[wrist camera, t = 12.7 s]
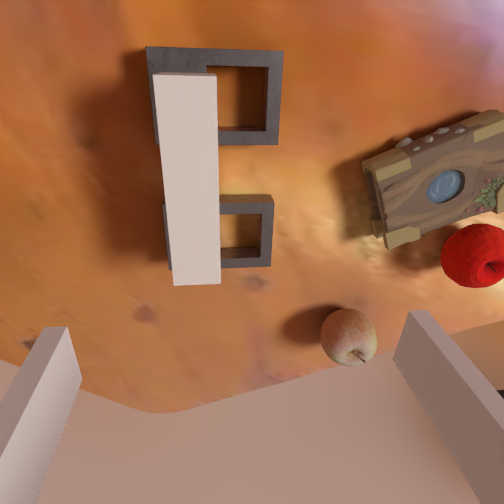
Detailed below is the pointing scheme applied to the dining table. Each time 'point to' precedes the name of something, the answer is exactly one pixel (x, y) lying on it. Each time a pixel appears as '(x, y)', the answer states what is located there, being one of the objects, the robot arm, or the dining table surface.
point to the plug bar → (190, 173)
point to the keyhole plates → (231, 135)
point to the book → (437, 179)
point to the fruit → (348, 337)
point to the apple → (474, 256)
